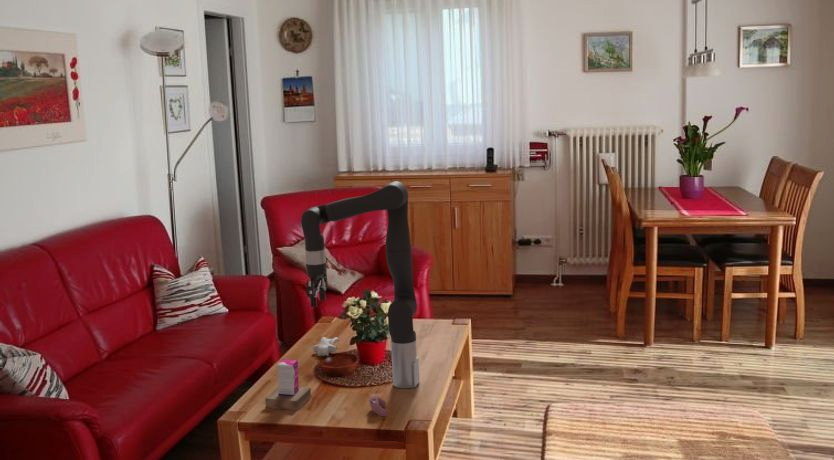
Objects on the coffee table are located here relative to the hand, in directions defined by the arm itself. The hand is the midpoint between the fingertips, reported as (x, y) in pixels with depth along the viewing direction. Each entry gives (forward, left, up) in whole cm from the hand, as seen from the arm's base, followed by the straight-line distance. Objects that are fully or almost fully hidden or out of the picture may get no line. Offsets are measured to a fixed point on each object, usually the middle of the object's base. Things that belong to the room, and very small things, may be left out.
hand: (318, 303), depth 314 cm
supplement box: (+4, +22, -27) cm, 35 cm away
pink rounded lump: (-30, +24, -30) cm, 49 cm away
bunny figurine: (+11, -31, -30) cm, 45 cm away
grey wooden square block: (+4, +22, -31) cm, 38 cm away
